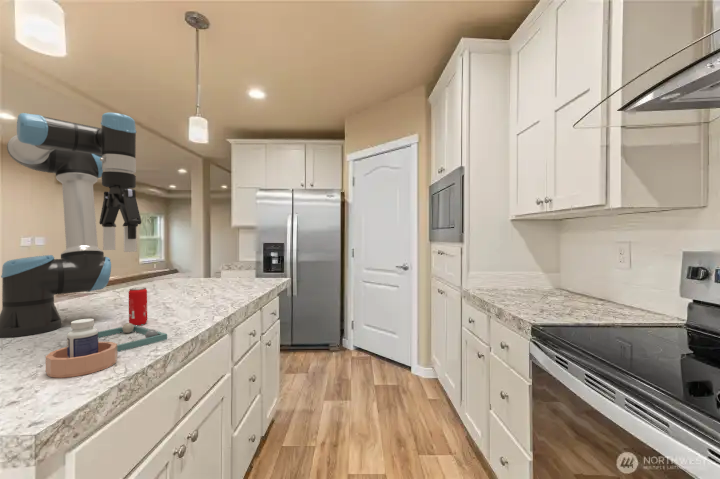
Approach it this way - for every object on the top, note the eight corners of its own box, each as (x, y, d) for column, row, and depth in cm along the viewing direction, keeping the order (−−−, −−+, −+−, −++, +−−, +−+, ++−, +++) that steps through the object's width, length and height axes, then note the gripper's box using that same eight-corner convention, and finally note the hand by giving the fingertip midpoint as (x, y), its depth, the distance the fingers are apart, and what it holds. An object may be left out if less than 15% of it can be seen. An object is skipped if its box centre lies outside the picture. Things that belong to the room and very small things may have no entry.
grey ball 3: (143, 340, 95) (143, 330, 95) (154, 338, 97) (154, 327, 97) (148, 342, 93) (148, 331, 93) (159, 339, 96) (159, 329, 96)
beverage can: (130, 323, 115) (130, 288, 115) (148, 321, 117) (148, 287, 117) (127, 326, 110) (127, 290, 110) (146, 325, 112) (145, 289, 112)
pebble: (120, 333, 102) (120, 323, 102) (131, 331, 105) (131, 321, 105) (124, 334, 101) (124, 324, 101) (136, 332, 103) (135, 322, 103)
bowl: (38, 370, 74) (38, 352, 74) (103, 354, 84) (103, 338, 84) (58, 382, 67) (58, 363, 67) (126, 363, 77) (125, 347, 77)
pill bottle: (104, 359, 78) (103, 317, 78) (83, 368, 73) (83, 323, 73) (83, 359, 79) (82, 317, 79) (60, 368, 73) (60, 323, 73)
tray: (69, 342, 93) (69, 337, 93) (133, 329, 107) (133, 324, 107) (100, 356, 82) (100, 349, 82) (167, 339, 96) (167, 334, 96)
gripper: (85, 174, 96) (85, 249, 96) (122, 165, 81) (123, 253, 82) (116, 178, 102) (116, 248, 102) (155, 170, 88) (156, 252, 88)
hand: (119, 250), depth 92 cm, fingers open, 13 cm apart
